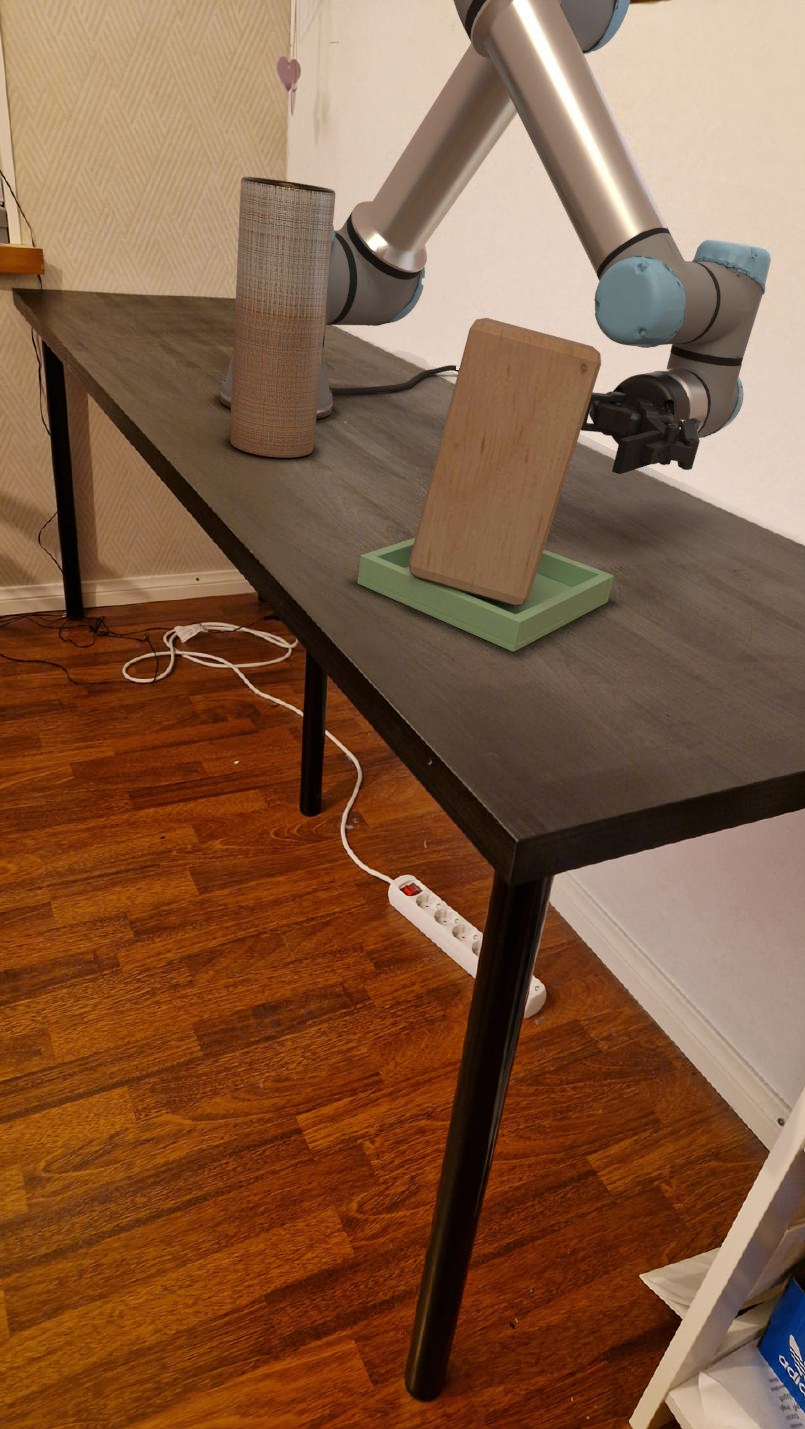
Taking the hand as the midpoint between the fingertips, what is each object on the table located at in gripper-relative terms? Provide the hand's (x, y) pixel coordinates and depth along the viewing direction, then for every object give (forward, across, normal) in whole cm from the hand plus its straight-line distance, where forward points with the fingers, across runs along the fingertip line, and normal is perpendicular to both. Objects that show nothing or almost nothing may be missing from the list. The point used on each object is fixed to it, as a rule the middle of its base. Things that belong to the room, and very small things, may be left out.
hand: (549, 435), depth 82 cm
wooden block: (+9, 0, -11) cm, 15 cm away
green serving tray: (+6, 0, -13) cm, 14 cm away
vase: (-9, +41, -13) cm, 44 cm away
